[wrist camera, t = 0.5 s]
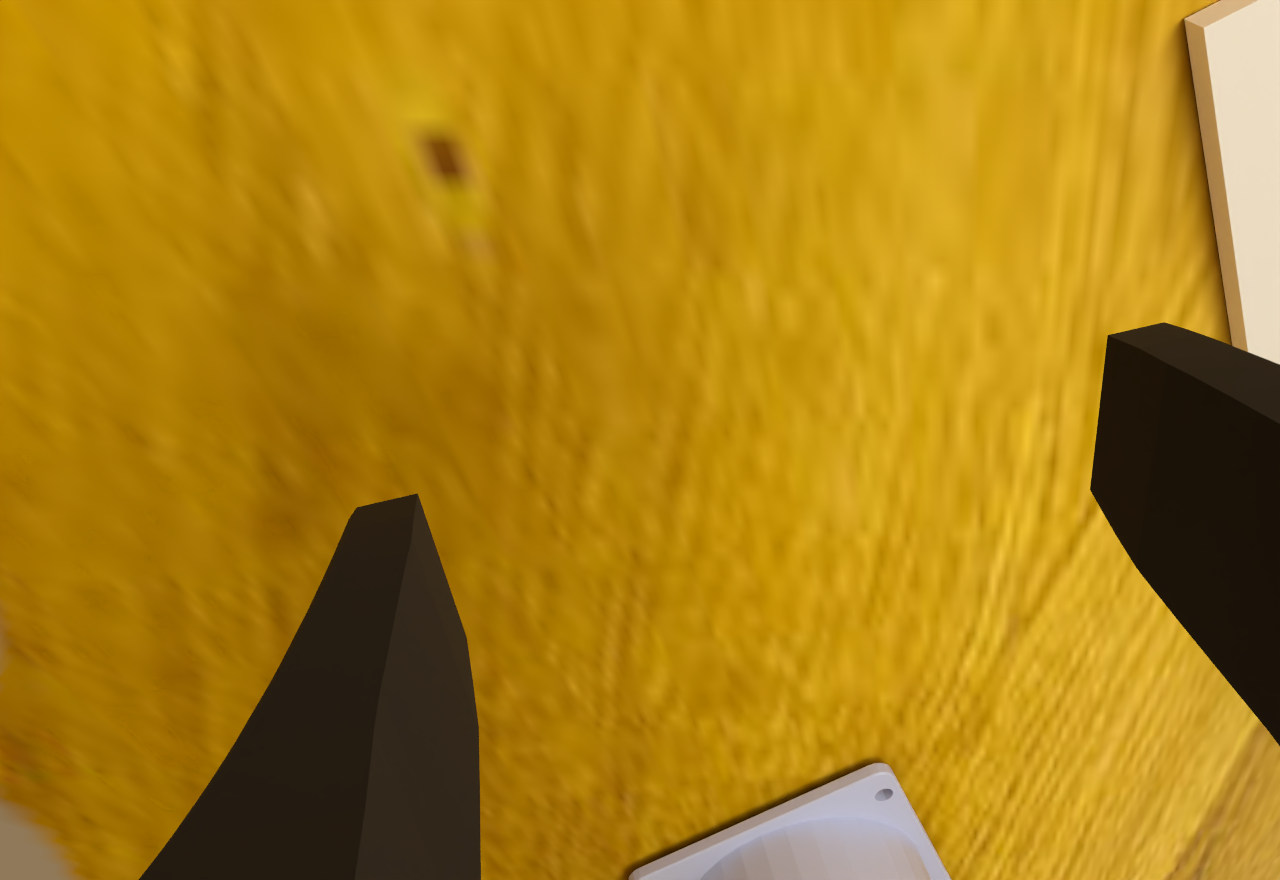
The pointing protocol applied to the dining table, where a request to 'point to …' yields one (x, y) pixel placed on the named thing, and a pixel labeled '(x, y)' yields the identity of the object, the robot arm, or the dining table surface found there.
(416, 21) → the dining table surface
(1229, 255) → the white card
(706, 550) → the dining table surface
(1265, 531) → the robot arm
